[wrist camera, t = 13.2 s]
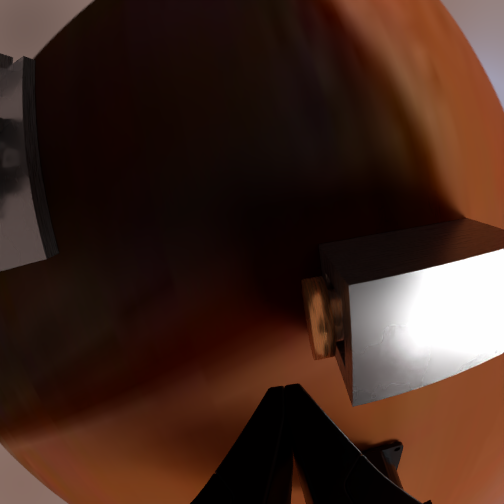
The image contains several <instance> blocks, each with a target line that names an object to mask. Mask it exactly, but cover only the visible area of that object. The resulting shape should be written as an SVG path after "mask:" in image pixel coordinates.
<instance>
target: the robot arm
mask: <svg viewBox="0 0 504 504" xmlns="http://www.w3.org/2000/svg"><path fill="white" fill-rule="evenodd" d="M402 450H403V445H402V442H395V443H392V444H389V445H385V446H382V447H378V448H375V449H371V450H367V451H363V452H360V451H359V450H358V449H357V447H356V446H355V445H354V444H353V443H352V442H351V441H350V440H349V439H348V438H347V437H346V436H345V434H344V433H343V432H342V431H341V430H340V429H339V428H338V427H337V426H336V425H335V423H334V422H333V421H332V420H331V419H330V418H329V417H328V416H327V414H326V413H325V412H324V411H323V410H322V409H321V408H320V407H319V405H318V404H317V403H316V402H315V401H314V400H313V399H312V397H311V396H310V395H309V394H308V393H307V392H306V391H305V389H304V388H303V387H302V386H301V385H300V384H291V385H286V386H285V388H284V387H283V386H277V387H271V388H269V389H268V391H267V392H266V394H265V396H264V397H263V399H262V400H261V402H260V404H259V405H258V407H257V409H256V410H255V412H254V414H253V415H252V417H251V418H250V420H249V422H248V423H247V425H246V426H245V428H244V429H243V431H242V433H241V434H240V436H239V437H238V439H237V440H236V442H235V443H234V445H233V446H232V448H231V449H230V451H229V452H228V454H227V455H226V457H225V458H224V460H223V461H222V463H221V464H220V465H219V467H218V468H217V470H216V471H215V473H216V474H213V475H212V477H211V478H210V480H209V481H208V482H207V484H206V485H205V486H204V488H203V489H202V490H201V491H200V493H199V494H198V495H197V496H196V498H195V499H194V500H193V501H192V502H191V503H190V504H291V491H292V474H293V454H294V459H295V464H296V468H297V471H298V475H299V479H300V483H301V487H302V490H303V494H304V498H305V502H306V504H422V503H421V502H419V501H418V500H417V499H415V498H414V497H412V496H411V495H409V494H408V493H406V492H405V491H404V490H403V487H402V484H401V481H400V479H399V476H398V473H397V468H398V464H399V461H400V457H401V454H402ZM423 504H432V502H431V500H429V501H427V502H425V503H423Z"/></svg>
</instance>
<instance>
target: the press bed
mask: <svg viewBox="0 0 504 504" xmlns="http://www.w3.org/2000/svg"><path fill="white" fill-rule="evenodd" d="M0 117H1V118H3V120H4V125H3V130H2V132H1V134H0V271H3V270H7V269H10V268H14V267H18V266H22V265H25V264H29V263H33V262H37V261H41V260H45V259H48V258H50V257H52V256H54V255H56V254H58V253H59V251H58V247H57V244H56V240H55V236H54V232H53V228H52V223H51V219H50V214H49V210H48V205H47V200H46V195H45V189H44V183H43V177H42V171H41V164H40V156H39V147H38V137H37V126H36V109H35V60H33V59H30V58H27V57H25V56H23V57H22V58H20V59H19V60H17V61H16V62H15V63H13V58H12V57H10V56H7V55H4V54H0Z"/></svg>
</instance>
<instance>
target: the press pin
mask: <svg viewBox="0 0 504 504" xmlns="http://www.w3.org/2000/svg"><path fill="white" fill-rule="evenodd" d="M301 286H302V296H303V304H304V311H305V317H306V324H307V329H308V335H309V340H310V345H311V350H312V354H313V358H314V360H319V359H325V358H330V357H334V356H335V354H336V341H341V340H344V326H343V311H342V300H341V298H340V296H339V295H338V293H337V291H336V290H335V288H333V289H328V290H327V287H326V284H325V281H324V279H323V277H322V276H318V277H313V278H307V279H302V280H301Z"/></svg>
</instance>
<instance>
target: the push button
mask: <svg viewBox="0 0 504 504" xmlns="http://www.w3.org/2000/svg"><path fill="white" fill-rule="evenodd" d="M3 125H4V120H3V118H1V117H0V134H1V132H2V130H3Z"/></svg>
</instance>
